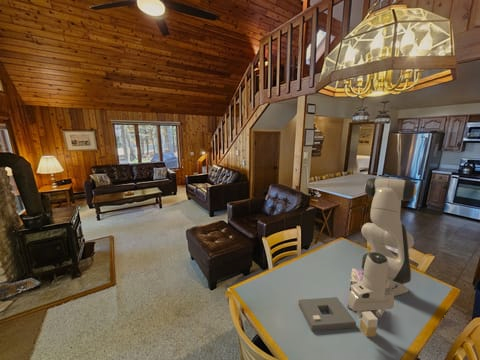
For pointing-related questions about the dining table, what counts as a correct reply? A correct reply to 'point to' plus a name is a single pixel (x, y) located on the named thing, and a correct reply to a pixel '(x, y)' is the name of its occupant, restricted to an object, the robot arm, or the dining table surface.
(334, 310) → the socket
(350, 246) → the dining table surface
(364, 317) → the cream and tan block
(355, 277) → the candy box
